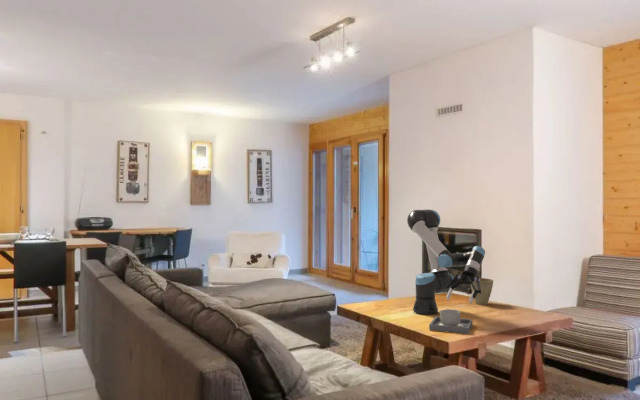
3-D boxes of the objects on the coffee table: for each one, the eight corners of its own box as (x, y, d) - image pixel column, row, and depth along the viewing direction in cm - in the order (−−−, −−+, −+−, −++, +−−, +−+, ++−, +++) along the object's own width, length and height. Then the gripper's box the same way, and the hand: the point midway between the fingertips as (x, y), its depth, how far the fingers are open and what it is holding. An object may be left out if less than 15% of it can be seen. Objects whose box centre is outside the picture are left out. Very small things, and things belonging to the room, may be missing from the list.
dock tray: (429, 330, 262) (429, 324, 262) (435, 321, 280) (435, 316, 280) (468, 333, 254) (468, 327, 254) (472, 324, 272) (472, 319, 272)
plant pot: (480, 306, 321) (480, 281, 321) (465, 302, 334) (465, 278, 334) (498, 304, 327) (498, 280, 327) (482, 300, 340) (482, 277, 340)
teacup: (460, 329, 259) (460, 313, 259) (439, 327, 262) (439, 312, 262) (460, 322, 273) (459, 308, 273) (439, 321, 275) (439, 307, 276)
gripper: (494, 276, 277) (482, 307, 266) (453, 271, 294) (440, 301, 283) (490, 268, 273) (478, 299, 262) (449, 263, 290) (436, 293, 279)
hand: (458, 300), depth 272 cm, fingers open, 13 cm apart
